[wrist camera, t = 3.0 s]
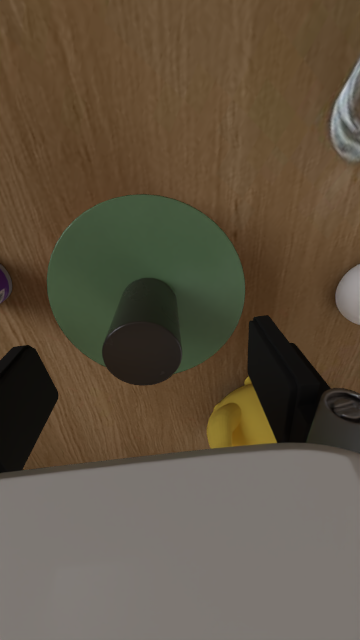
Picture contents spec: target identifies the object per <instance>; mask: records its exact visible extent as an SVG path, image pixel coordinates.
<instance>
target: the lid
mask: <svg viewBox="0 0 360 640" xmlns="http://www.w3.org/2000/svg"><path fill="white" fill-rule="evenodd" d="M47 291H48V297H49V302H50V306H51V309H52V312H53V314H54V317H55V319H56V321H57V323H58V325H59V327H60V328H61V330H62V331H63V333H64V334H65V335H66V337H67V338H68V339H69V340H70V341H71V342H72V344H73V345H74V346H75V347H76V348H78V349H79V350H80V351H81V352H82V353H83V354H85V355H86V356H88V357H89V358H90V359H92V360H94V361H95V362H97V363H99V364H101V365H103V366H105V367H107V369H108V370H109V371H110V372H111V373H112V374H113V375H114V376H115V377H117V378H118V379H120V380H122V381H124V382H127V383H130V384H134V385H153V384H157V383H160V382H162V381H164V380H166V379H168V378H169V377H171V376H172V375H173V374H175V373H178V372H182V371H185V370H187V369H190V368H192V367H195V366H197V365H198V364H200V363H202V362H204V361H205V360H207V359H208V358H210V357H211V356H212V355H214V354H215V353H216V352H217V351H218V350H219V349H220V348H221V347H222V346H223V345H224V344H225V343H226V342H227V340H228V339H229V337H230V336H231V335H232V333H233V331H234V330H235V328H236V326H237V324H238V322H239V319H240V316H241V314H242V310H243V305H244V299H245V278H244V273H243V268H242V265H241V262H240V259H239V256H238V254H237V252H236V250H235V248H234V246H233V244H232V242H231V241H230V240H229V238H228V237H227V236H226V234H225V233H224V232H223V230H222V229H221V228H220V227H219V226H218V225H217V224H216V223H215V222H214V221H212V220H211V219H210V218H209V217H207V216H206V215H205V214H203V213H202V212H201V211H199V210H197V209H195V208H194V207H192V206H190V205H188V204H186V203H183V202H181V201H178V200H176V199H172V198H168V197H164V196H160V195H149V194H137V195H127V196H122V197H117V198H113V199H110V200H107V201H105V202H102V203H99V204H97V205H95V206H94V207H92V208H90V209H88V210H87V211H85V212H84V213H82V214H81V215H80V216H79V217H77V218H76V219H75V220H74V221H73V222H72V223H71V224H70V225H69V226H68V227H67V228H66V229H65V231H64V232H63V233H62V235H61V237H60V238H59V240H58V241H57V243H56V245H55V247H54V250H53V252H52V254H51V258H50V262H49V266H48V274H47Z"/></svg>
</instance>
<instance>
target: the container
mask: <svg viewBox="0 0 360 640" xmlns="http://www.w3.org/2000/svg"><path fill="white" fill-rule="evenodd" d="M11 291H12V281H11V278H10V276H9V274H8V272H7V271H6V269H5V268H4V267H3V266H2V265H1V264H0V303H2V302H3V301H4V300H5V299H7V298H8V297H9V295H10V294H11Z"/></svg>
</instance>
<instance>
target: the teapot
mask: <svg viewBox="0 0 360 640" xmlns="http://www.w3.org/2000/svg"><path fill="white" fill-rule="evenodd" d="M244 384H245V386H242V387H240V388H238V389H236V390H234V391H233V392H231V393H230V394H228V395H227V396H226V397H225V398H224V399H223V400H222V401H221V402H220V403H219V404H217V405H216V406H215V407H214V411H213V412H212V414H211V416H210V418H209V421H208V425H207V438H208V442H209V446H210V448H211V449H213V448H223V447H234V446H245V445H255V444H268V443H277V441H276V439H275V436H274V434H273V432H272V429H271V427H270V425H269V422H268V420H267V418H266V415H265V413H264V411H263V408H262V406H261V403H260V401H259V399H258V396H257V394H256V392H255V389H254V387H253V385H252V382H251V380H250V378H249V377H247V378H246V379H245V382H244Z"/></svg>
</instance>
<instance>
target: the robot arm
mask: <svg viewBox="0 0 360 640" xmlns="http://www.w3.org/2000/svg"><path fill="white" fill-rule="evenodd" d="M248 375H249V378H250V380H251V382H252V385H253V387H254V389H255V392H256V394H257V396H258V399H259V401H260V403H261V406H262V408H263V411H264V413H265V415H266V418H267V420H268V422H269V425H270V427H271V429H272V432H273V434H274V436H275V439H276V441H277V443H268V444H255V445H245V446H234V447H223V448H213V449H204V450H195V451H186V452H177V453H168V454H159V455H149V456H141V457H132V458H123V459H114V460H106V461H97V462H88V463H80V464H71V465H63V466H54V467H46V468H38V469H30V470H22V469H23V467H24V465H25V463H26V461H27V459H28V457H29V455H30V453H31V451H32V449H33V447H34V445H35V443H36V441H37V439H38V437H39V435H40V433H41V431H42V429H43V427H44V425H45V424H46V422H47V420H48V418H49V416H50V414H51V412H52V410H53V408H54V406H55V404H56V402H57V400H58V391H57V389H56V387H55V385H54V384H53V382H52V380H51V378H50V376H49V374H48V372H47V370H46V368H45V366H44V364H43V362H42V361H41V359H40V357H39V355H38V353H37V351H36V349H34V348H32V347H31V346H29V345H25V346H17V347H13V348H12V349H11V350H10V351H9V352H8V353H7V354H6V355H5V356H4V357H3V358H2V359H1V360H0V640H360V394H359V393H357V392H355V391H352V390H348V389H344V388H333V389H331V388H330V387H329V386H328V385H327V383H326V382H325V381H324V380H323V378H322V377H321V376H320V375H319V373H318V372H317V371H316V370H315V368H314V367H313V366H312V365H311V363H310V362H309V361H308V360H307V358H306V357H305V356H304V355H303V353H302V352H301V351H300V350H299V348H298V347H297V346H296V345H295V344H294V343H289V342H288V340H287V339H286V338H285V336H284V335H283V334H282V333H281V331H280V330H279V329H278V327H277V326H276V325H275V323H274V322H273V321H272V320H271V318H270V317H269V316H268V315H266V316H258V317H254V318H253V321H250V322H249V340H248Z"/></svg>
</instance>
